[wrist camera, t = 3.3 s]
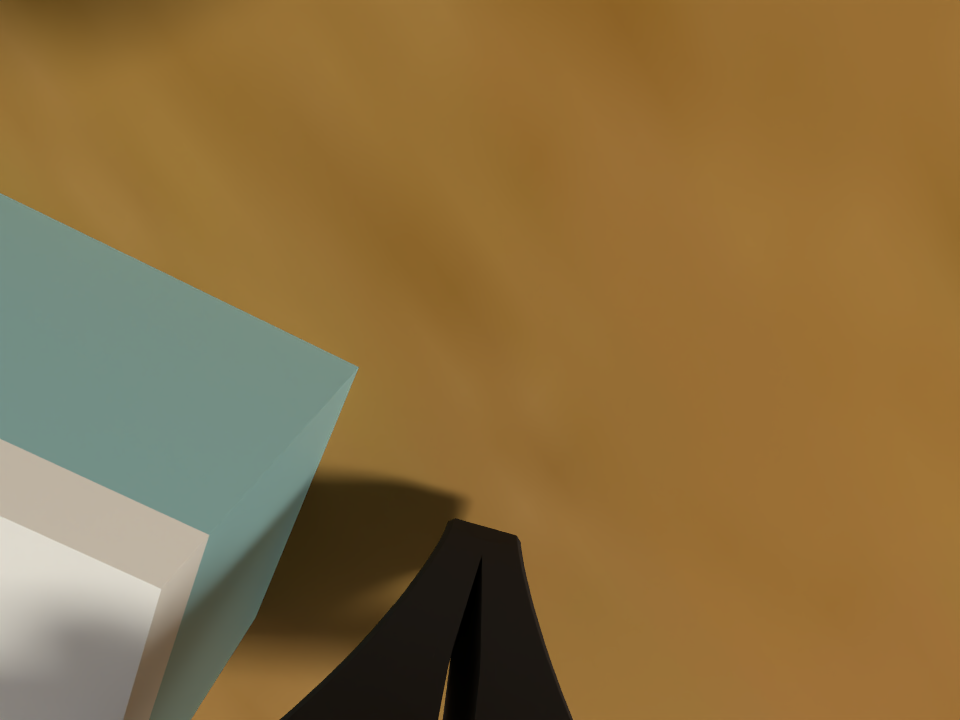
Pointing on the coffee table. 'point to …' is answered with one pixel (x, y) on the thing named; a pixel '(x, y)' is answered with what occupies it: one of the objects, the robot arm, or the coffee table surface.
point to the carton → (139, 474)
